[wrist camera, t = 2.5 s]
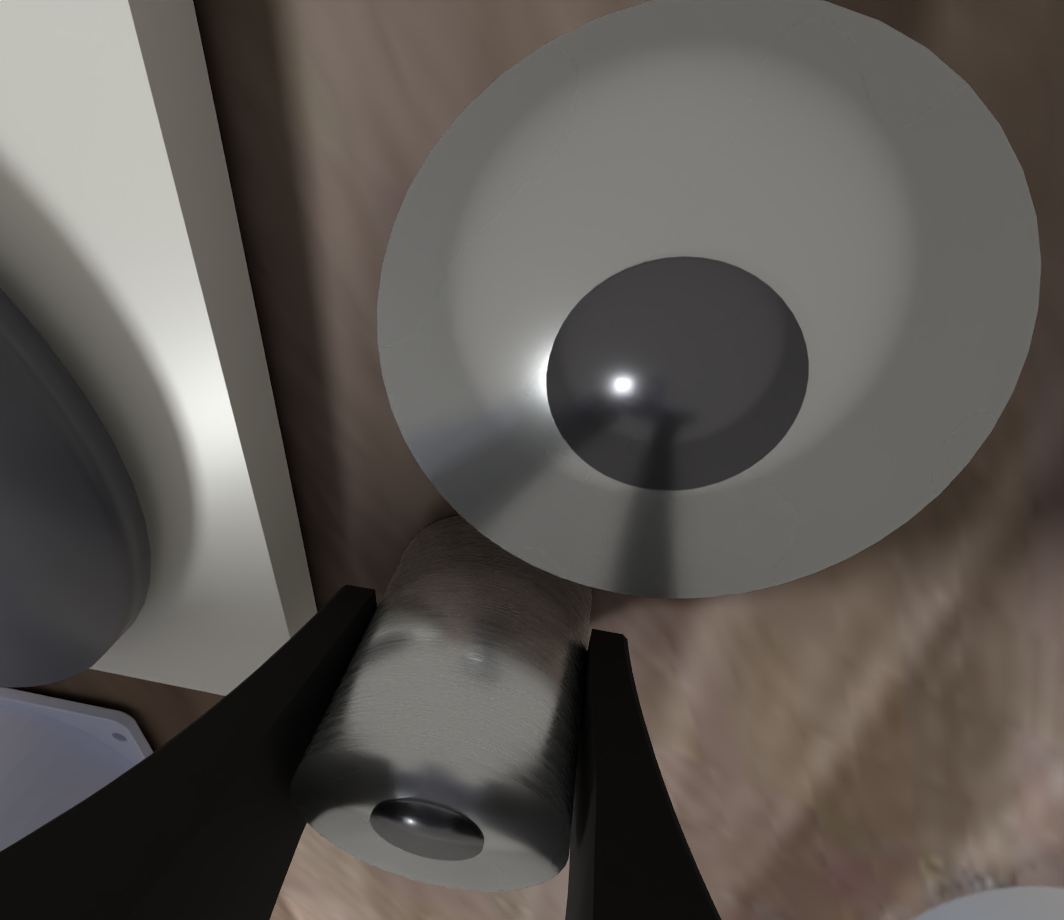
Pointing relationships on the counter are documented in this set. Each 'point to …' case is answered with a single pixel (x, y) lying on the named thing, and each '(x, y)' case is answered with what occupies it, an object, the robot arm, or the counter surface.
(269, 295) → the counter surface
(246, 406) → the scale base
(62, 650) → the scale pan
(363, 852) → the cylinder
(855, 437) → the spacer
